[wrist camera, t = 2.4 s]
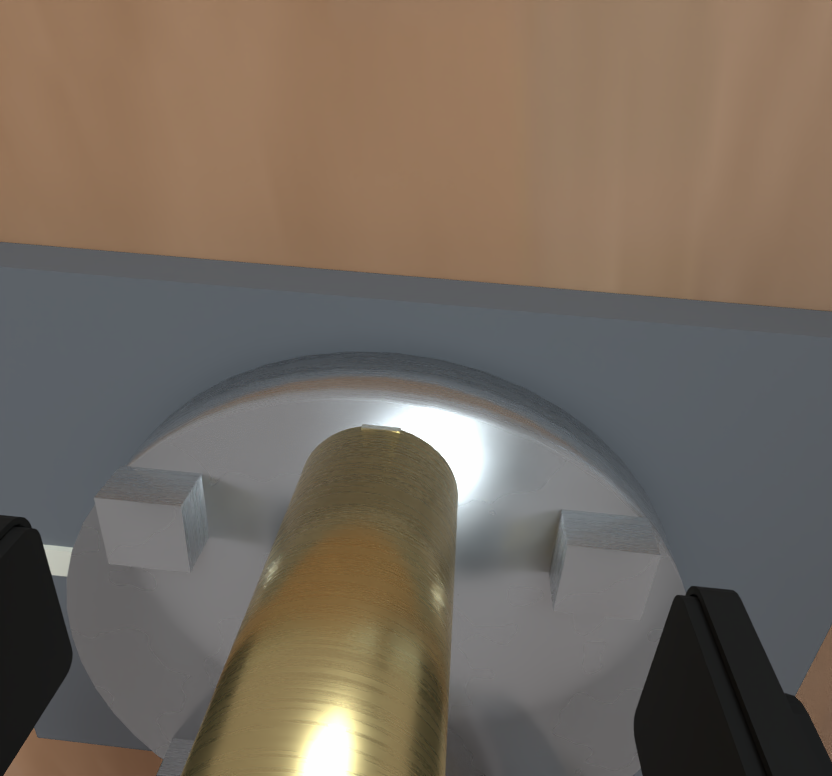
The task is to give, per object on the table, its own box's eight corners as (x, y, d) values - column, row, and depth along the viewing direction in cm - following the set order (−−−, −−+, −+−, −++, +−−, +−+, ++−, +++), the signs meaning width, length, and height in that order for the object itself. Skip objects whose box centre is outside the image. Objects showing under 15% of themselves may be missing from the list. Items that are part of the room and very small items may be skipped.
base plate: (925, 319, 14) (977, 353, 13) (716, 772, 22) (733, 825, 20) (-78, 235, 15) (-138, 257, 14) (63, 696, 23) (34, 742, 21)
